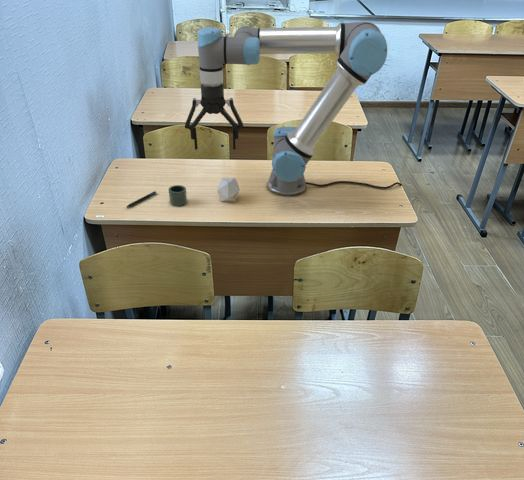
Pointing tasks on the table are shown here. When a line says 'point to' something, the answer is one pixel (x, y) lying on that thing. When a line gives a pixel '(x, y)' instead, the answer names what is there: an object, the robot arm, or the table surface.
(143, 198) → the pen
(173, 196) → the cup
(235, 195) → the die
